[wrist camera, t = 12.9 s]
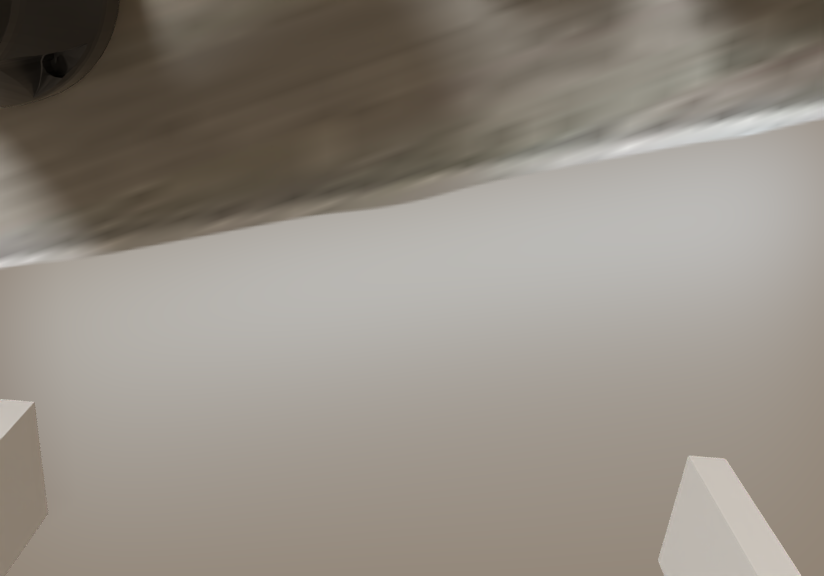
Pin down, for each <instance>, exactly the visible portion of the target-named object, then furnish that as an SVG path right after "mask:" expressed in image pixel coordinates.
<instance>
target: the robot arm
mask: <svg viewBox="0 0 824 576" xmlns="http://www.w3.org/2000/svg"><path fill="white" fill-rule="evenodd" d="M118 7H119V0H0V107H12V106H18V105H23V104H27V103H31V102H34V101H37V100H41V99H44V98H47V97H50V96H53V95H55V94H57V93H59V92H62V91H64V90H65V89H67V88H69V87H70V86H72V85H73V84H75V83H76V82H78V81H79V80H80V79H81V78H82V77H84V76H85V75H86V74H87V73H88V72H89V71H90V70H91V68H92V67H93V66H94V65H95V64H96V62H97V61H98V60H99V58H100V57H101V55H102V53H103V52H104V50H105V48H106V46H107V44H108V42H109V40H110V38H111V35H112V32H113V29H114V26H115V22H116V18H117V13H118ZM47 514H48V508H47V500H46V492H45V484H44V475H43V467H42V459H41V451H40V443H39V434H38V426H37V419H36V410H35V402H30V401H17V400H5V399H0V576H5V575H6V574H7V573H8V571H9V569H10V568H11V567H12V565H13V564H14V562H15V561H16V559H17V558H18V557H19V555H20V554H21V552H22V551H23V549H24V548H25V546H26V545H27V544H28V542H29V541H30V539H31V538H32V536H33V535H34V533H35V532H36V530H37V529H38V527H39V526H40V525H41V523H42V522H43V520H44V519H45V517H46V516H47ZM658 562H659V564H660V566H661V569H662V571H663V574H664V576H801V574H800V573H799V572H798V570H797V568H796V567H795V565H794V563H793V562H792V560H791V559H790V557H789V556H788V554H787V553H786V551H785V550H784V548H783V547H782V545H781V544H780V542H779V540H778V539H777V537H776V536H775V534H774V533H773V531H772V530H771V528H770V527H769V525H768V524H767V522H766V520H765V519H764V517H763V516H762V514H761V513H760V511H759V510H758V508H757V507H756V505H755V503H754V502H753V500H752V499H751V497H750V496H749V494H748V493H747V491H746V490H745V488H744V487H743V485H742V484H741V482H740V480H739V479H738V477H737V476H736V475H735V473H734V471H733V470H732V468H731V467H730V465H729V464H728V462H727V460H726V459H724V458H712V457H711V458H710V457H699V456H688V459H687V462H686V466H685V469H684V472H683V476H682V479H681V483H680V486H679V490H678V493H677V497H676V500H675V504H674V507H673V511H672V514H671V518H670V521H669V524H668V528H667V531H666V535H665V538H664V541H663V545H662V549H661V552H660V555H659V559H658Z"/></svg>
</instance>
